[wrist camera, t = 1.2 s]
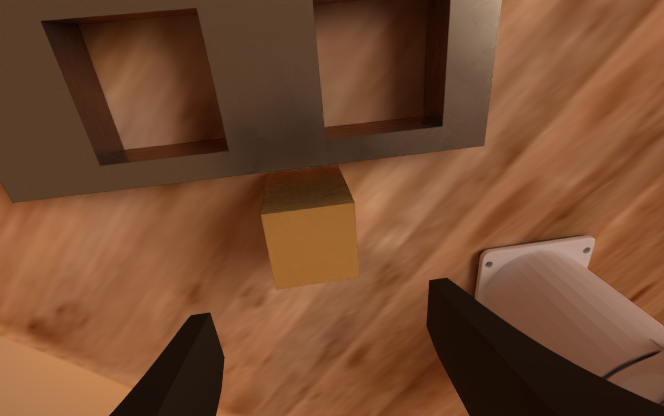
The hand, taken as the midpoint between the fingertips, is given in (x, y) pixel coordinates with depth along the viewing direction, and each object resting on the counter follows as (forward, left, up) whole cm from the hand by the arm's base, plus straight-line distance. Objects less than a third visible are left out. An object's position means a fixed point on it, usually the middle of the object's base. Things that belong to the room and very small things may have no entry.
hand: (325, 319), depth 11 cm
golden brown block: (0, 0, -10) cm, 10 cm away
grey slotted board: (+7, +2, -9) cm, 12 cm away
